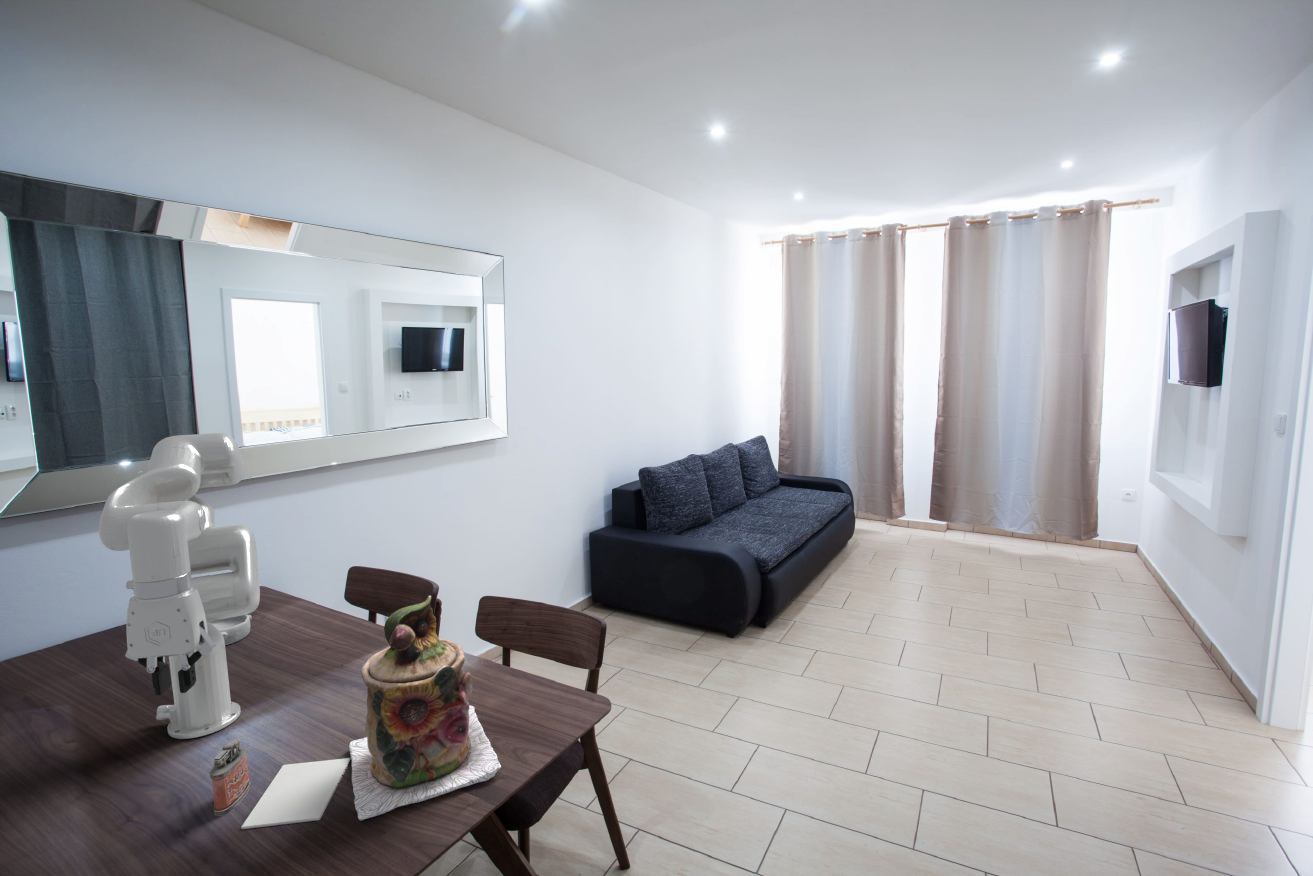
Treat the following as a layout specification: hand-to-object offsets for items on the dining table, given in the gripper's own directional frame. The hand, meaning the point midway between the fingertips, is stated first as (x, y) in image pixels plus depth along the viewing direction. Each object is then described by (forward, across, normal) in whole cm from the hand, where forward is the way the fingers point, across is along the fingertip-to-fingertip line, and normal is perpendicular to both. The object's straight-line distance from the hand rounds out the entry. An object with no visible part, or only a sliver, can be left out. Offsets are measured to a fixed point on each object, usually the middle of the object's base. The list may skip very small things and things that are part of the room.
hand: (175, 689), depth 106 cm
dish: (+22, -29, +72) cm, 81 cm away
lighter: (+21, +7, 0) cm, 23 cm away
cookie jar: (+22, +38, +5) cm, 44 cm away
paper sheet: (+21, +18, 0) cm, 28 cm away
